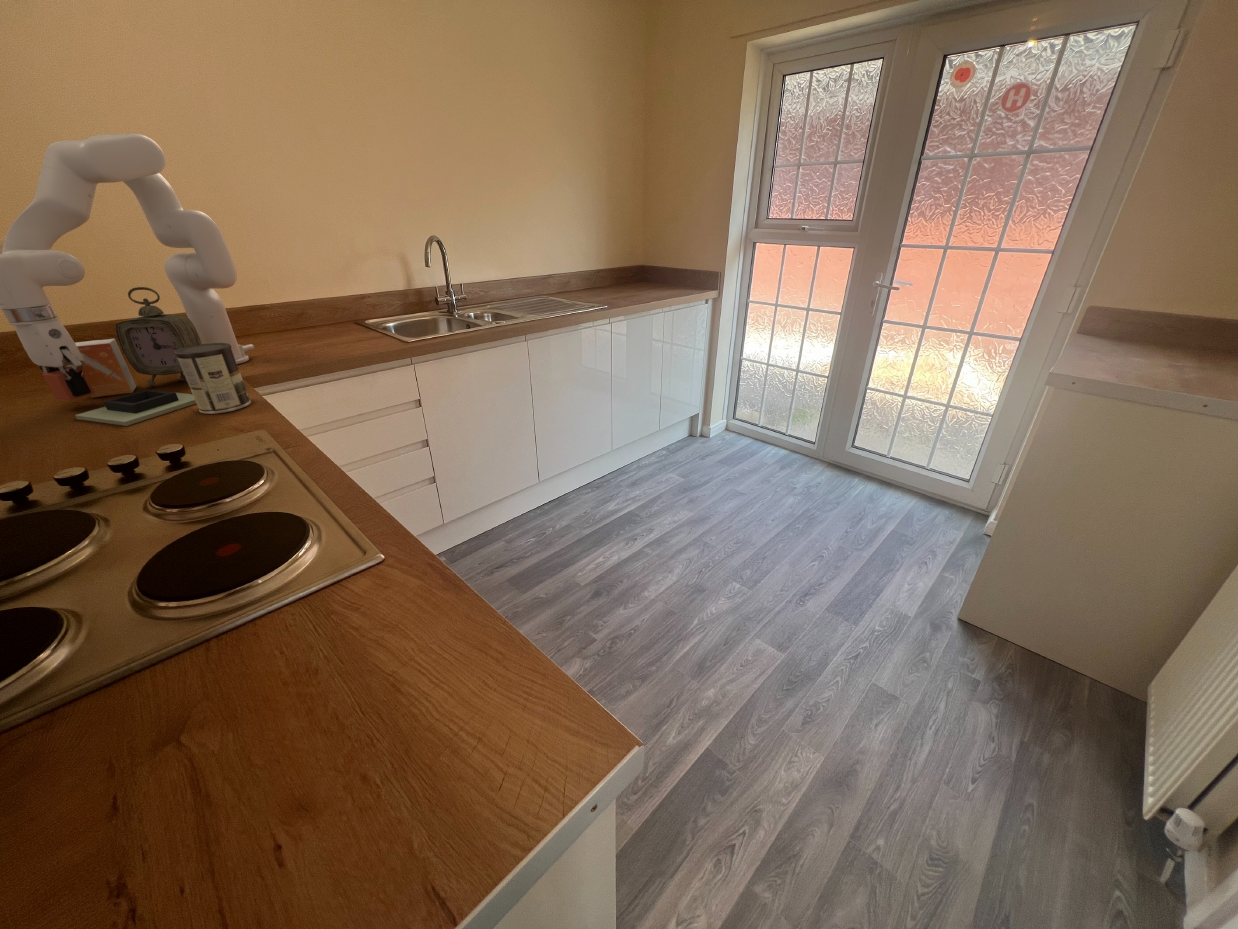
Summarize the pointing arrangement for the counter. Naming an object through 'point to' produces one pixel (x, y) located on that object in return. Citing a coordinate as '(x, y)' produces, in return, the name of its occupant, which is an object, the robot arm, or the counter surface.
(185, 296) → the robot arm
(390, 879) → the counter surface
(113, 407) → the back pad
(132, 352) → the tabletop clock
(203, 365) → the coffee can
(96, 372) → the small box
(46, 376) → the pad block
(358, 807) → the counter surface
